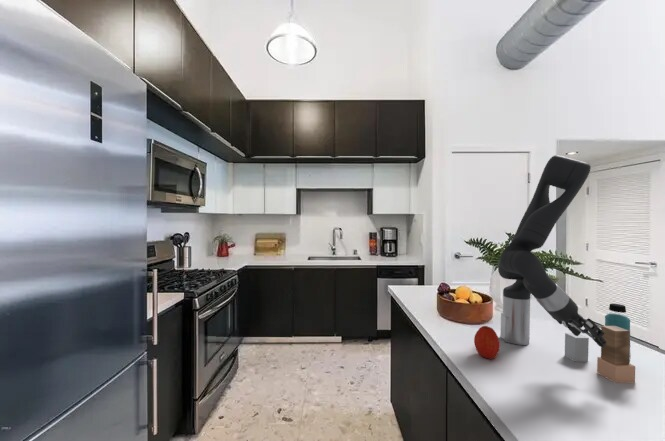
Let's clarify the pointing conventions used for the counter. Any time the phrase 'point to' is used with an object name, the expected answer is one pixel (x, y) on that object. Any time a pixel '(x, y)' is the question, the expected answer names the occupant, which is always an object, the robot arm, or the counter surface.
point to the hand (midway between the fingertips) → (590, 339)
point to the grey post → (576, 347)
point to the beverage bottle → (618, 319)
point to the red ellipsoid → (487, 342)
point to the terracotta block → (616, 371)
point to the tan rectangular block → (616, 345)
